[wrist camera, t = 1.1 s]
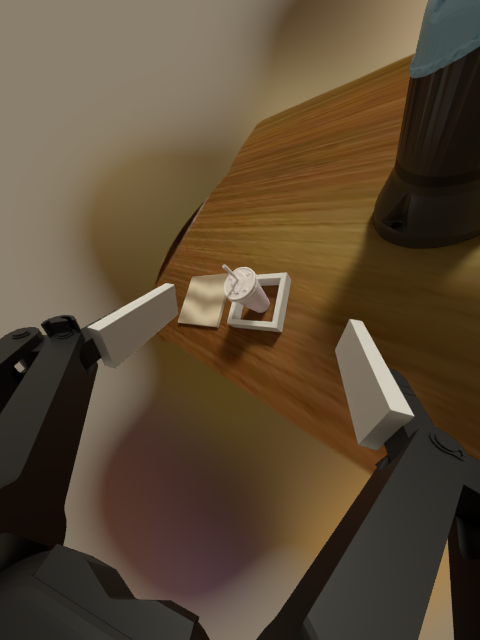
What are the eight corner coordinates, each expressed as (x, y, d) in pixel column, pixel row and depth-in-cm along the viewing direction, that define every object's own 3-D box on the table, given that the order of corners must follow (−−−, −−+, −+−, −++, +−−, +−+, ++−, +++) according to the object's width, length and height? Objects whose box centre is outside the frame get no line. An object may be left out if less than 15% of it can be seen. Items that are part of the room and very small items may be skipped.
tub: (245, 282, 43) (238, 276, 40) (291, 280, 37) (286, 272, 34) (234, 327, 40) (226, 323, 38) (281, 332, 34) (276, 327, 32)
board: (194, 278, 54) (192, 276, 53) (232, 274, 46) (230, 273, 45) (179, 323, 50) (177, 322, 50) (218, 327, 43) (216, 326, 42)
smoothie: (276, 288, 38) (243, 245, 27) (275, 317, 36) (239, 284, 25) (249, 293, 41) (210, 257, 30) (247, 320, 39) (204, 291, 28)
